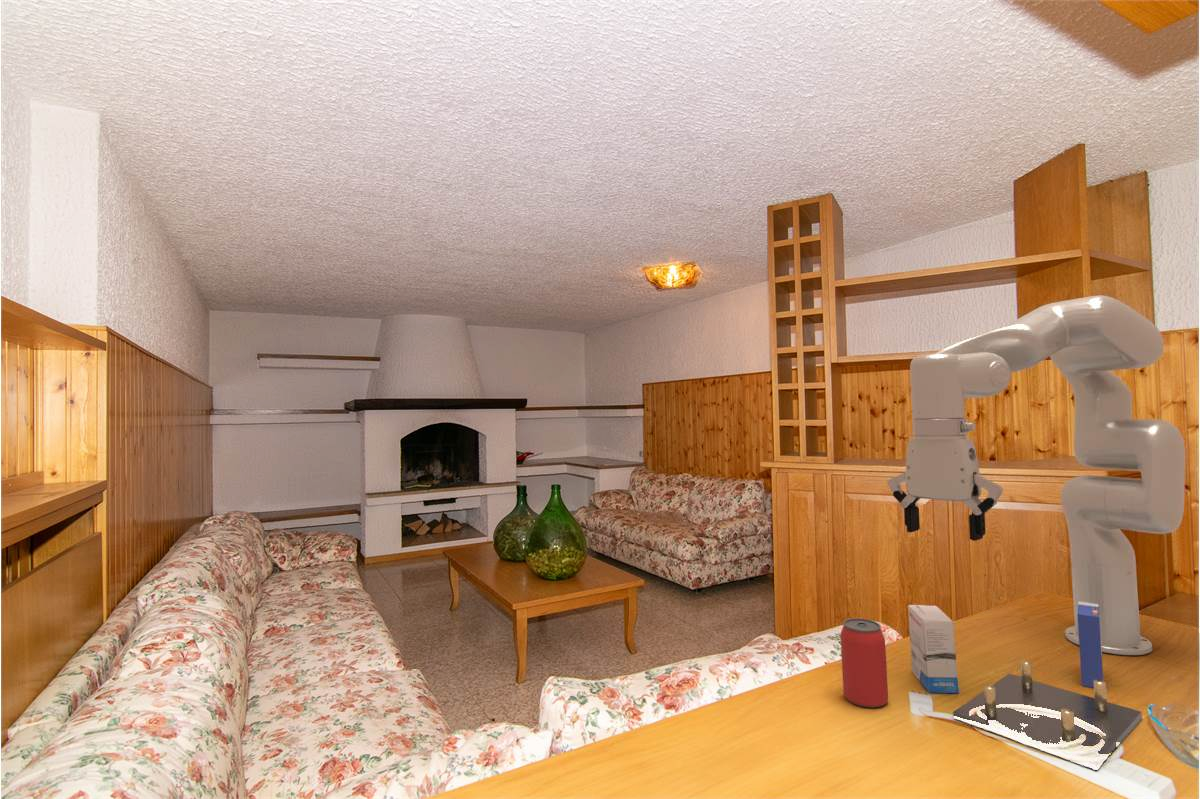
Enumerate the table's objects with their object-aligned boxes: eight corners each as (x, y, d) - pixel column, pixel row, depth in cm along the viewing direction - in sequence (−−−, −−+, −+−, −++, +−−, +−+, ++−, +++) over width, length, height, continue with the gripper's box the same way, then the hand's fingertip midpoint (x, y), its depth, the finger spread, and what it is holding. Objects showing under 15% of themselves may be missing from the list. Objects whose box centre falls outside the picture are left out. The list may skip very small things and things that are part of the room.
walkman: (1104, 690, 96) (1099, 614, 96) (1081, 685, 98) (1077, 611, 98) (1103, 672, 102) (1098, 601, 102) (1082, 668, 104) (1077, 598, 104)
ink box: (960, 695, 97) (956, 621, 97) (926, 693, 98) (922, 620, 98) (941, 672, 105) (937, 604, 105) (910, 670, 106) (906, 603, 106)
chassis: (1009, 679, 101) (1007, 649, 101) (1142, 718, 87) (1139, 683, 87) (953, 718, 89) (951, 684, 89) (1096, 771, 76) (1094, 730, 76)
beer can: (888, 693, 98) (884, 619, 98) (888, 712, 92) (884, 633, 92) (844, 687, 101) (840, 615, 101) (842, 705, 95) (838, 628, 95)
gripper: (1008, 428, 94) (1013, 539, 93) (897, 429, 107) (901, 525, 107) (988, 430, 89) (994, 546, 89) (875, 430, 103) (880, 531, 102)
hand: (943, 535), depth 98 cm, fingers open, 9 cm apart
